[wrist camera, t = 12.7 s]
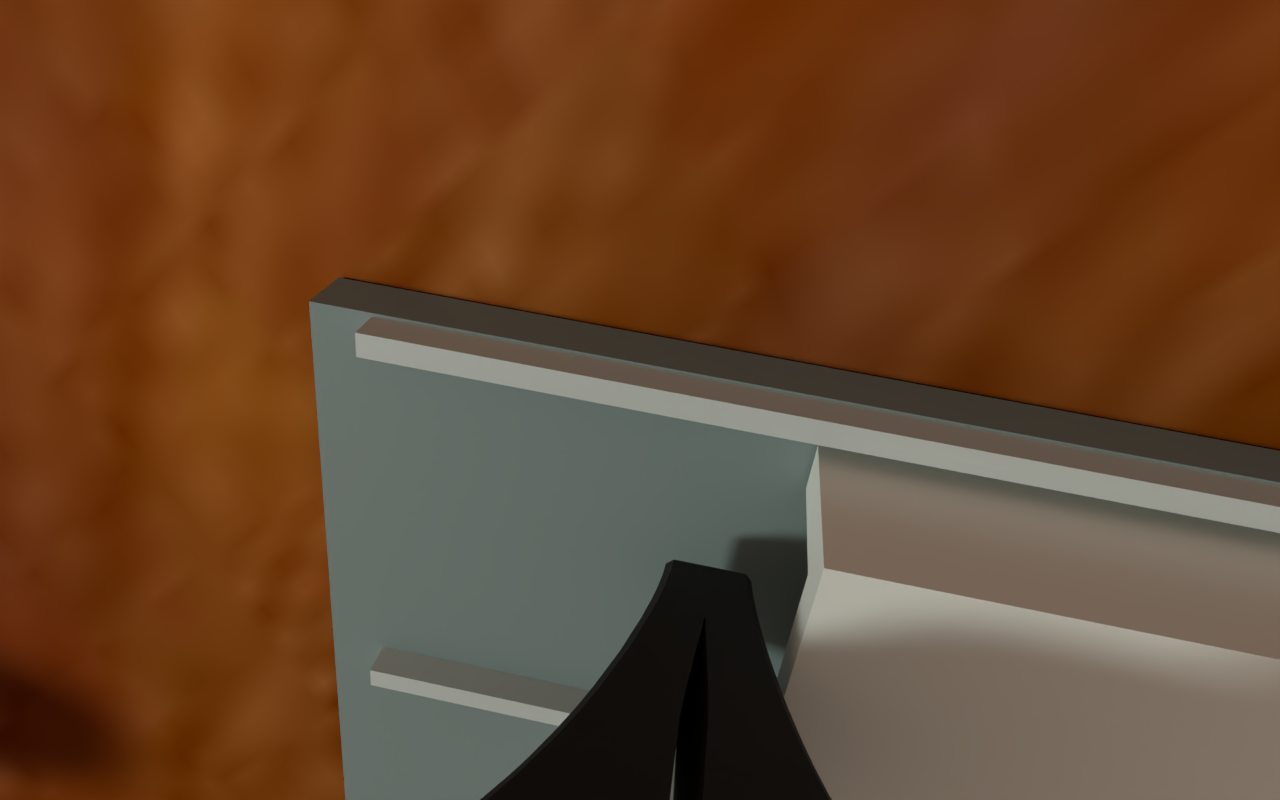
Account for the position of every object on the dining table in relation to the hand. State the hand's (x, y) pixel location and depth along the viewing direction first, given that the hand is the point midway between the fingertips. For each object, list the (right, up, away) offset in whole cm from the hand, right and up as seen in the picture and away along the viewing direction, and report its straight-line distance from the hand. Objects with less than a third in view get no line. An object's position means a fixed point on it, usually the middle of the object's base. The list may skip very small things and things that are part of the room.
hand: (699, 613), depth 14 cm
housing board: (+1, -4, +4) cm, 6 cm away
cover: (+5, 0, 0) cm, 5 cm away
